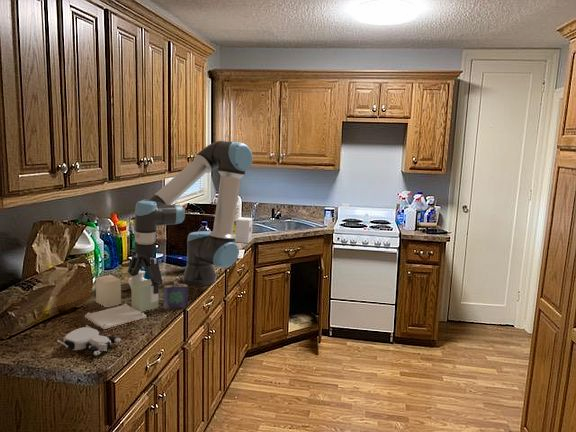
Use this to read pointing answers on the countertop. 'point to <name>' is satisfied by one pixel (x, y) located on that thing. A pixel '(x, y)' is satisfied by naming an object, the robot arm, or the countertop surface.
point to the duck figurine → (139, 277)
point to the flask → (175, 296)
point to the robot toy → (88, 340)
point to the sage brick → (142, 296)
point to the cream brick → (108, 290)
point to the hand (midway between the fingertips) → (144, 296)
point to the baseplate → (115, 316)
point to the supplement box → (243, 230)
